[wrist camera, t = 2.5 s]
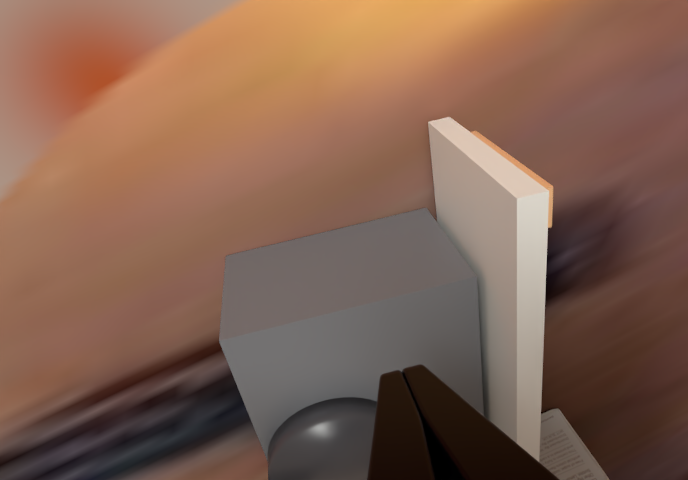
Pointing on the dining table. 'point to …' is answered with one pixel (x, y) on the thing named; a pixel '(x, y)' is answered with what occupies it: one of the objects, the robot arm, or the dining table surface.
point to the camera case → (345, 335)
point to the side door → (499, 266)
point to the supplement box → (566, 450)
